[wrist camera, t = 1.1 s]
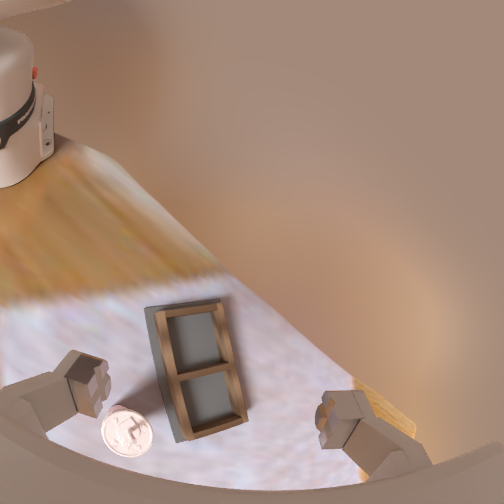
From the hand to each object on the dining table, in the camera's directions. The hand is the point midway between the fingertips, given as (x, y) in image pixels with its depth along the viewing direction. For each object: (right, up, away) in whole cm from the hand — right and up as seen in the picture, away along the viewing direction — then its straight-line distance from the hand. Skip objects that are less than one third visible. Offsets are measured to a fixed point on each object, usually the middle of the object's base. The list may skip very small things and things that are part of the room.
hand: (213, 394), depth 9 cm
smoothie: (-18, -19, +24) cm, 36 cm away
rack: (-7, -14, +33) cm, 36 cm away
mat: (-7, -14, +33) cm, 36 cm away
